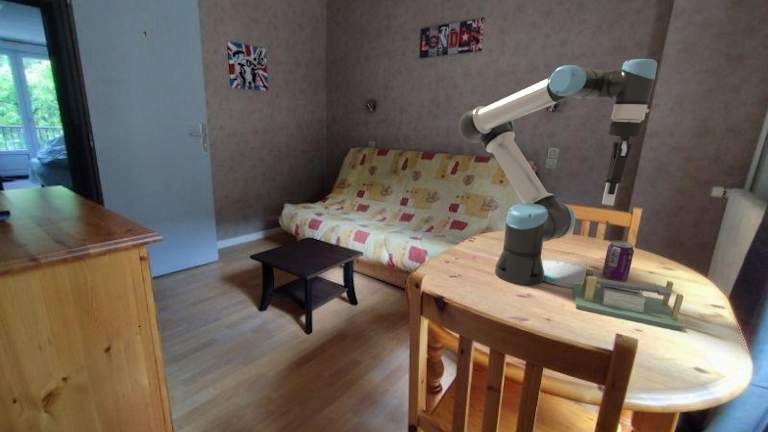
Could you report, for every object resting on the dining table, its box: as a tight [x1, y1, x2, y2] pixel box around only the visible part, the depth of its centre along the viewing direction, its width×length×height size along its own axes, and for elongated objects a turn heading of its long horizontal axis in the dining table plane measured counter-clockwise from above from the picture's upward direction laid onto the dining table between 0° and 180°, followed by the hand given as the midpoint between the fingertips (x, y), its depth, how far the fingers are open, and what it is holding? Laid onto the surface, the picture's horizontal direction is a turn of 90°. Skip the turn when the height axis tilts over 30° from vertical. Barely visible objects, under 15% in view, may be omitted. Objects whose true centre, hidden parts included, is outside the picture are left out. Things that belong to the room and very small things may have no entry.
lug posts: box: [582, 267, 684, 320], centre depth 94 cm, size 21×9×7 cm, turn 65°
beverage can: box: [601, 240, 635, 282], centre depth 112 cm, size 7×7×12 cm
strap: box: [586, 275, 672, 298], centre depth 94 cm, size 19×4×2 cm, turn 65°
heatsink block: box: [598, 284, 645, 313], centre depth 95 cm, size 9×9×4 cm
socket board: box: [572, 282, 683, 332], centre depth 96 cm, size 23×15×1 cm, turn 65°
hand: (607, 204), depth 101 cm, fingers closed
